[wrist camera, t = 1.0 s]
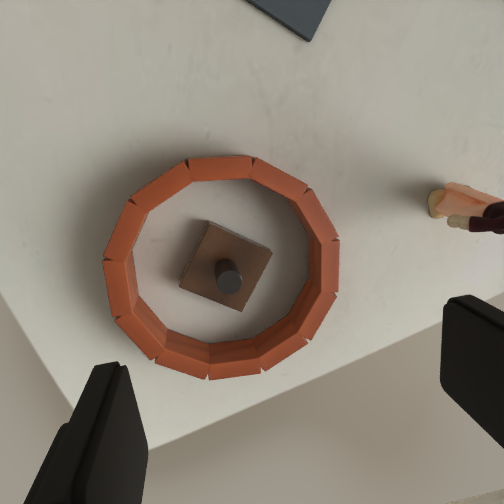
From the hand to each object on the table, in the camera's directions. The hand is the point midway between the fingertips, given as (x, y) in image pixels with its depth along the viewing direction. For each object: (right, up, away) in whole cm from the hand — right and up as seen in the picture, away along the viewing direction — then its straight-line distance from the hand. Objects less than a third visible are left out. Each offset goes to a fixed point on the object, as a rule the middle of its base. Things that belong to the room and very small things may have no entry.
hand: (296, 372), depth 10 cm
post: (-4, +2, +21) cm, 22 cm away
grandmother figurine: (+17, +8, +23) cm, 30 cm away
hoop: (-4, +2, +21) cm, 22 cm away
